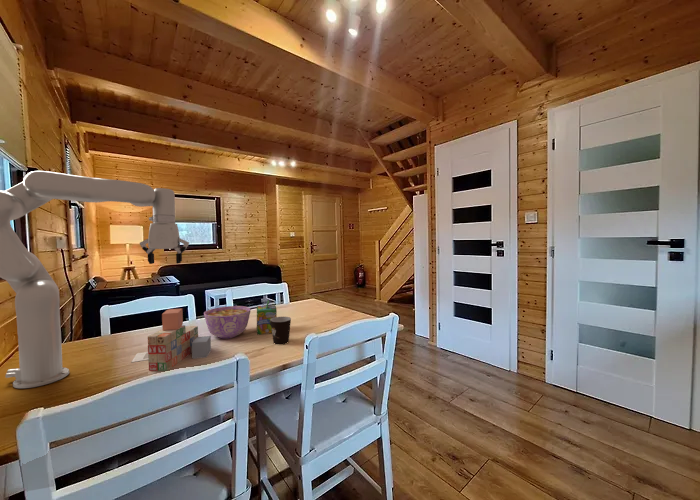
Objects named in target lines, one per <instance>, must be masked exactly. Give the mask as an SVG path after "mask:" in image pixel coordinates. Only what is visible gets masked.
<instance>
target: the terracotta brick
mask: <svg viewBox="0 0 700 500" xmlns="http://www.w3.org/2000/svg"><path fill="white" fill-rule="evenodd" d="M183 314H184V313H183V308H171V309H170V308H169V309H166V310H165V311H164V312H163V313H162V314H161V322H162V323H161V325H162V327H161V329H163V331H164V330H175V329H179V328H180V327H181V326H182V325H184V321H183V320H184V317H183V316H184V315H183Z"/></svg>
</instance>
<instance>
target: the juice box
mask: <svg viewBox="0 0 700 500" xmlns="http://www.w3.org/2000/svg"><path fill="white" fill-rule="evenodd" d="M277 311H278V309H277V307H276V305H275V304H274V305H273V304H272V305H270V301H269V299H268V300H267V302H266V305H260V306H259V305H258V306H256V334H257V335H258V334H259V335H267V334H266V333H269V334H272V328H271V325H270V320H271V319H272V318H275V317H278V315H277Z"/></svg>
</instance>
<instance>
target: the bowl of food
mask: <svg viewBox="0 0 700 500" xmlns="http://www.w3.org/2000/svg"><path fill="white" fill-rule="evenodd" d="M251 310H252V309H251V307H249V306H245V305H244V306H243V305H231V306H220V307H214V308H211V309H209V310H208V309H207V310H205V311H204V312H203V315H204V320H205V322H206V326H207V330H208V332H209V333H210V334H211V335H212V336H214V337H218V338H219V339H232V338H235V337H238V335H240V334H241V333H243V332H245V330H246V328H247V327H248V324H249V319H250V316H251V315H250V314H251Z"/></svg>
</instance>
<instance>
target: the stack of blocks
mask: <svg viewBox="0 0 700 500" xmlns="http://www.w3.org/2000/svg"><path fill="white" fill-rule="evenodd" d="M198 329H199V328H198V325H196V326H195V325H187V326H186V325H184V324H182V326H181V327H180V328H179V329H175V330H164V331H163V328H161V329H160V330H158V331H156V332H154V333H152V334H150V335H148V336H147V352H148V357H149V360H148V371H149V372H152V371H154V372H156V371H157V372H160V371H162V372H163V371H164V372H166V371H168V370H170V369H171V368H172V367H173V368H174V366H175V365H177V364H178V363H180V362H182V361H183V360H184V359H185V358H186V357H188V356H189V355H192V342H193V341H194V340H195V339H196V337H199V330H198Z"/></svg>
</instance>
